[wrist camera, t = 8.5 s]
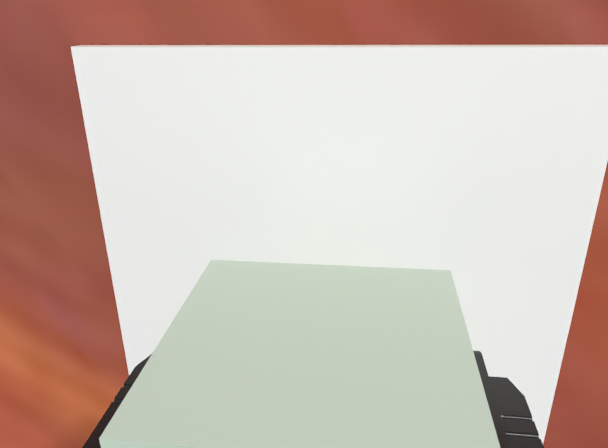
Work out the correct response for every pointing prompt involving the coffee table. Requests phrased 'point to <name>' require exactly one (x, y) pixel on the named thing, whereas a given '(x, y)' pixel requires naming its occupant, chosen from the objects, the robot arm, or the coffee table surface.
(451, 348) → the sage cube
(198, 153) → the mat
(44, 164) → the coffee table surface
